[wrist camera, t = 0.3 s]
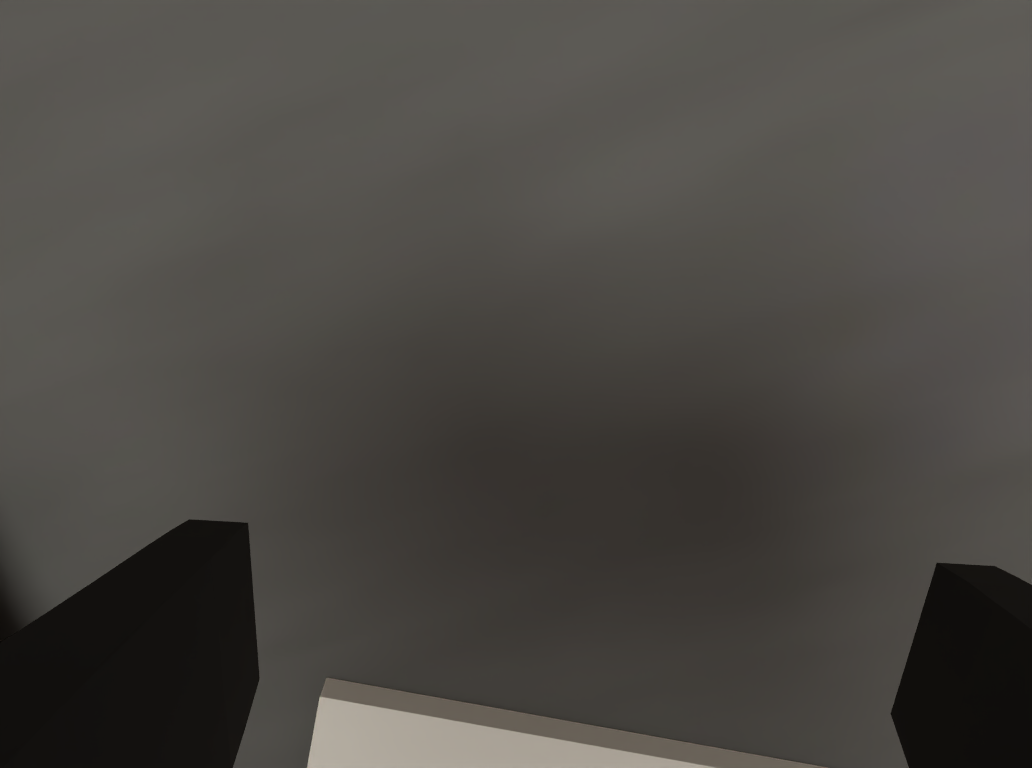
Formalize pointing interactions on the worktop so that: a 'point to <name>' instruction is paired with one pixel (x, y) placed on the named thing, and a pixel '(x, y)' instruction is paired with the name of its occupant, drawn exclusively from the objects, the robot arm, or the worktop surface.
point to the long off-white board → (487, 737)
